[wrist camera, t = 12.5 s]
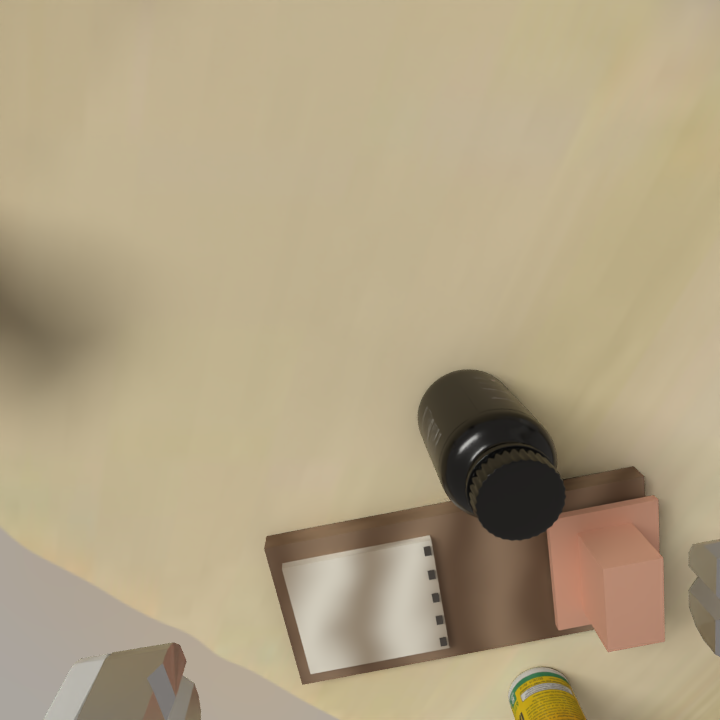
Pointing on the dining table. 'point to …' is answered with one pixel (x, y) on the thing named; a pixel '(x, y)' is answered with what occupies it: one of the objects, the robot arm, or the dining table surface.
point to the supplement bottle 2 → (543, 696)
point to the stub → (609, 572)
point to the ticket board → (420, 584)
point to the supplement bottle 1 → (491, 455)
